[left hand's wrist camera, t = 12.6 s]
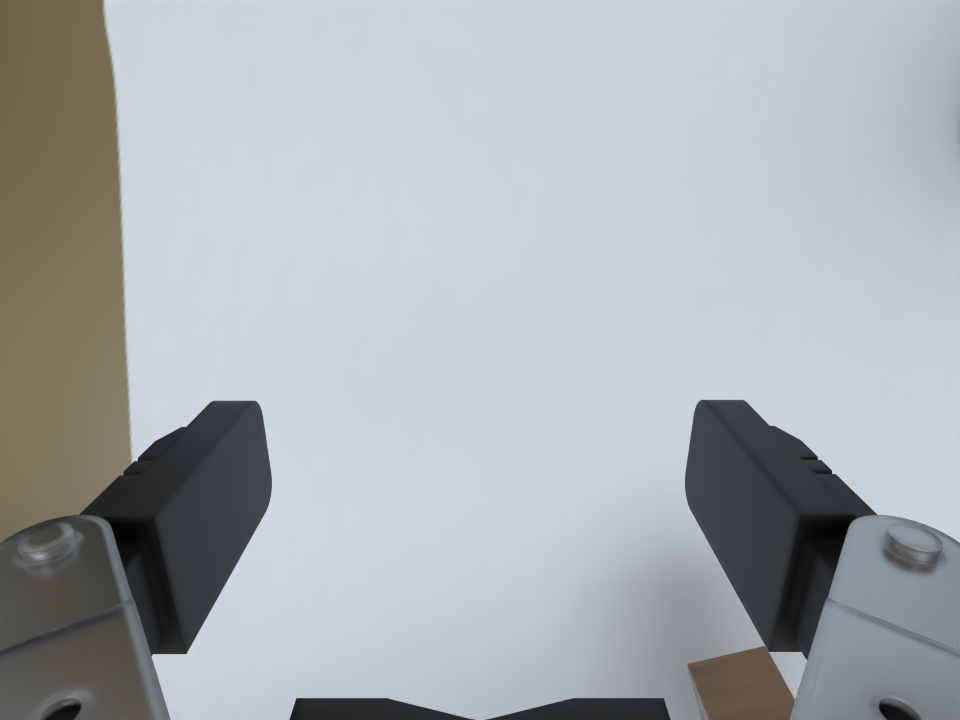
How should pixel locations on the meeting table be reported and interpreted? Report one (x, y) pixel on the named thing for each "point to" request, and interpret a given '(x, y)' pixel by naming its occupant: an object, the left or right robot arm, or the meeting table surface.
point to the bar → (741, 687)
